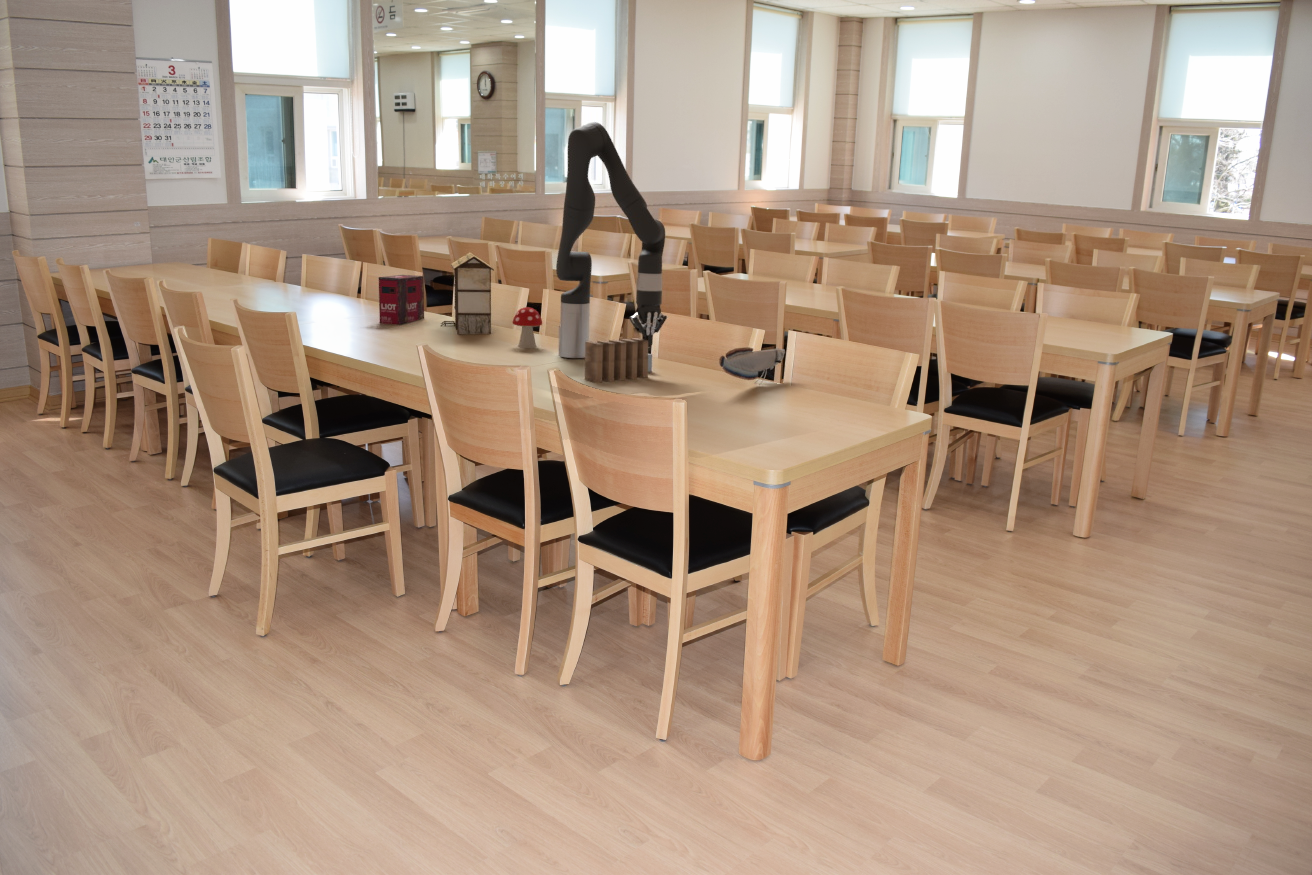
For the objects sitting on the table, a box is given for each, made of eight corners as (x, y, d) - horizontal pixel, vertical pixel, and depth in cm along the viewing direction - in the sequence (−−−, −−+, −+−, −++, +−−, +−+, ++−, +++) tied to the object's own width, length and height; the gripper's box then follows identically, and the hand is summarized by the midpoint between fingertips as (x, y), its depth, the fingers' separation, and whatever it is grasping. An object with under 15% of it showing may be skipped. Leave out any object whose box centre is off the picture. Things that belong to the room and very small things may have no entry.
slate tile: (646, 374, 304) (624, 369, 312) (651, 374, 305) (629, 368, 313) (647, 354, 302) (625, 349, 311) (652, 354, 304) (630, 349, 312)
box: (404, 326, 390) (403, 274, 385) (424, 328, 387) (423, 276, 383) (379, 331, 375) (378, 277, 370) (400, 333, 372) (399, 278, 367)
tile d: (596, 378, 293) (597, 340, 291) (601, 377, 294) (602, 340, 292) (608, 381, 289) (609, 343, 286) (613, 381, 290) (614, 343, 287)
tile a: (630, 374, 301) (630, 338, 298) (635, 374, 302) (635, 338, 300) (643, 378, 297) (643, 341, 294) (647, 377, 298) (648, 340, 295)
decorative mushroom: (544, 351, 342) (544, 306, 338) (539, 354, 333) (539, 309, 330) (515, 349, 342) (515, 305, 339) (509, 353, 334) (509, 308, 331)
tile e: (584, 379, 291) (585, 341, 288) (589, 378, 292) (590, 341, 289) (596, 382, 286) (597, 344, 284) (601, 382, 287) (602, 344, 285)
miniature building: (494, 342, 358) (493, 256, 352) (440, 341, 354) (438, 255, 347) (488, 332, 382) (488, 252, 375) (438, 332, 378) (437, 251, 371)
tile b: (619, 376, 299) (620, 339, 296) (624, 375, 300) (625, 338, 297) (631, 379, 294) (632, 341, 292) (636, 378, 295) (637, 341, 293)
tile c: (608, 377, 296) (609, 340, 293) (612, 376, 297) (613, 339, 295) (620, 380, 291) (621, 342, 289) (625, 379, 293) (626, 342, 290)
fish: (722, 395, 275) (725, 352, 272) (704, 391, 279) (706, 349, 276) (794, 382, 299) (797, 343, 296) (776, 379, 303) (779, 340, 300)
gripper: (639, 290, 288) (637, 350, 292) (674, 289, 296) (672, 347, 300) (623, 288, 294) (621, 347, 298) (658, 287, 302) (656, 344, 306)
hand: (647, 347), depth 299 cm, fingers closed
